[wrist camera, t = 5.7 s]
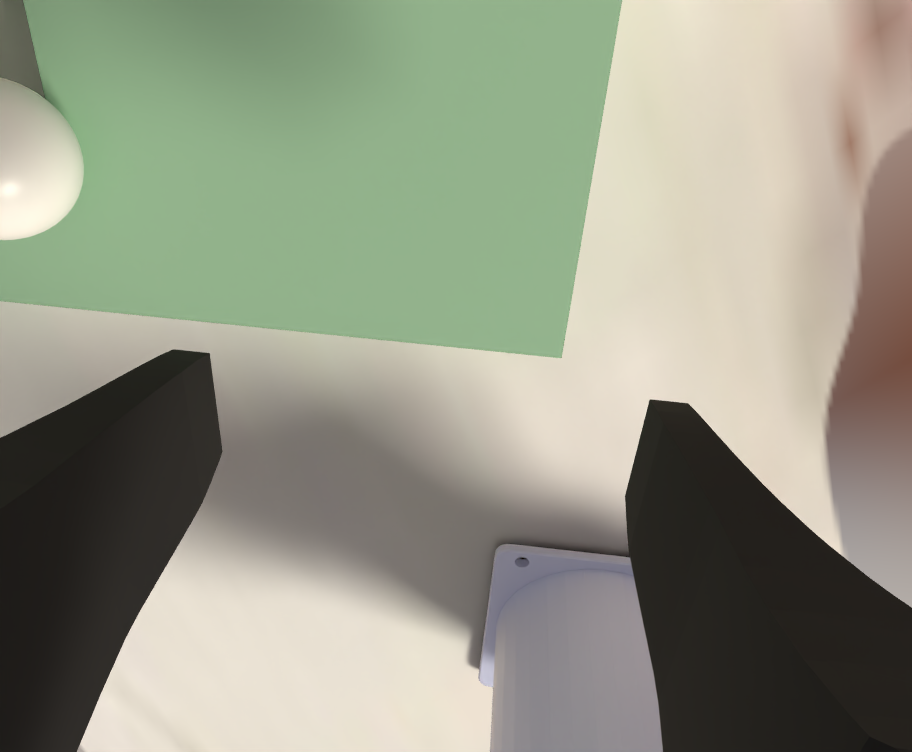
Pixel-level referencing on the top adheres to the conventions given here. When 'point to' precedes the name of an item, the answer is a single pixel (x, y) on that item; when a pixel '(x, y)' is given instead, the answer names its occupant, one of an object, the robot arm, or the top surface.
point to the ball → (35, 163)
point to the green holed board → (324, 164)
